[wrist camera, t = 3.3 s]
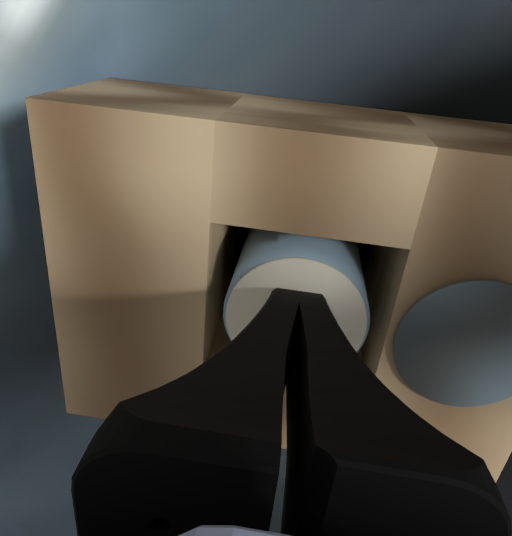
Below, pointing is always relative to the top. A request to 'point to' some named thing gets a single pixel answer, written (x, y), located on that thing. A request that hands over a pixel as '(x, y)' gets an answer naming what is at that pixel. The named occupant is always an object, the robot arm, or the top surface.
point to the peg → (298, 279)
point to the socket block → (280, 220)
